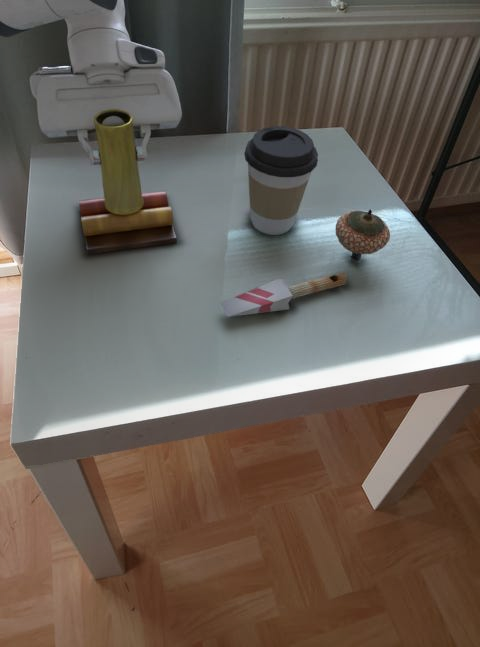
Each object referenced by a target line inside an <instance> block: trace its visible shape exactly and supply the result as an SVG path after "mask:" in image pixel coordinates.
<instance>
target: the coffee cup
mask: <svg viewBox="0 0 480 647" xmlns="http://www.w3.org/2000/svg"><path fill="white" fill-rule="evenodd" d="M243 155H244V160H245V162H246V163H247V173H248V192H249V193H248V194H249V211H250V212H249V214H250V215H249V216H250V220H251V224H252V226H253V227H254V228H255V230H257V231H258V232H260V233H262V234H265V235H270V236H279V235H283V234H286V233H288V232H289V231H290V230H291V229H292V227H293V225H294V224H295V221H296V218H297V216H298V212H299V209H300V206H301V203H302V200H303V198H304V195H305V191H306V189H307V186H308V183H309V180H310V177H311V174H312V172H313V171H314V170H315V169H316V167H317V166H318V162H319V159H318V158H319V152H318V150H317V148H316V147H315V143H314V140H313V138H312V137H311V136H309V135H308V134H307V133H306V132H304V131H302V130H300V129H297V128H294V127H291V126H290V127H289V126H283V125H273V126H266V127H264V128H261V129H259V130H258V131H256V132H255V133H254V134H253V136H252V138H251V139H250V140H248V142H247V144H246V146H245V149H244V152H243Z"/></svg>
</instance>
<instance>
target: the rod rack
mask: <svg viewBox="0 0 480 647" xmlns="http://www.w3.org/2000/svg"><path fill="white" fill-rule="evenodd" d="M141 193H142V198H143V201H144V204H143V206H142V208H141V209H140V210H139V211H137V212H135V213H133V214H129V215H117V214H113V213H111V212H109V211H108V210H107V209H106V207H105V204H104V197H97V198H88V199H79V200H78V205H79V212H80V215H81V216H80V221H81V226H82V231H83V235H84V241H85V247H86V254H87V255H93V254H94V255H95V254H100V253H101V254H102V253H108V252H115V251H116V252H117V251H123V250H131V249H137V248H139V249H140V248H144V247H145V248H146V247H153V246H160V245H161V246H162V245H167V244H176V243H178V242H177V240H178V239H177V235H176V233H175V229H174V214H173V210H172V207H171V206H169V201H168V195H167V194H168V193H167V192H166V190H160V191H151V192H141Z"/></svg>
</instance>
